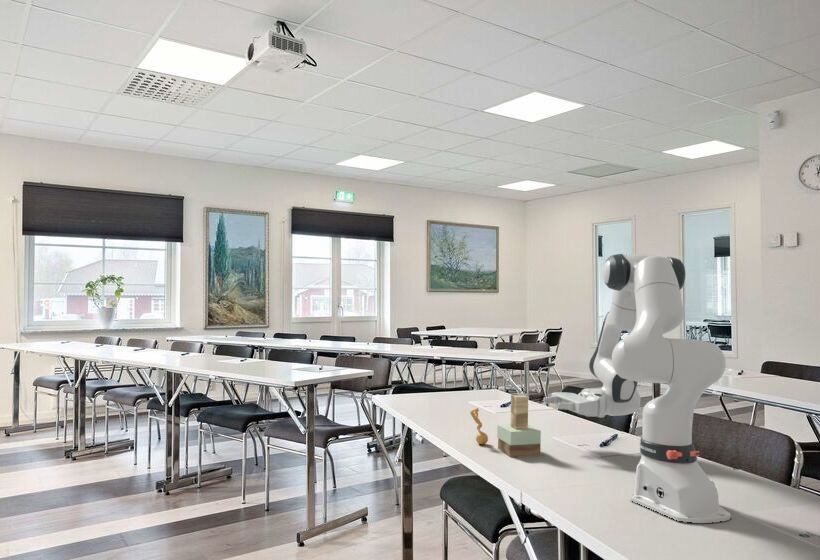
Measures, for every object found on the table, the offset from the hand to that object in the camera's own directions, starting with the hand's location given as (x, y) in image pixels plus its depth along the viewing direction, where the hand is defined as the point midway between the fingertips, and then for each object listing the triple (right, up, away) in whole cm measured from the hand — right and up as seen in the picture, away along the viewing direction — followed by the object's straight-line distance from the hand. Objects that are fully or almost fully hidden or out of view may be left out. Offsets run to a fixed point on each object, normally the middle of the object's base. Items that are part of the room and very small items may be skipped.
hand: (550, 403), depth 189 cm
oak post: (-11, -7, -3) cm, 13 cm away
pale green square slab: (-11, -11, -3) cm, 16 cm away
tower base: (-11, -15, -3) cm, 19 cm away
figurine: (-22, -15, +6) cm, 27 cm away
